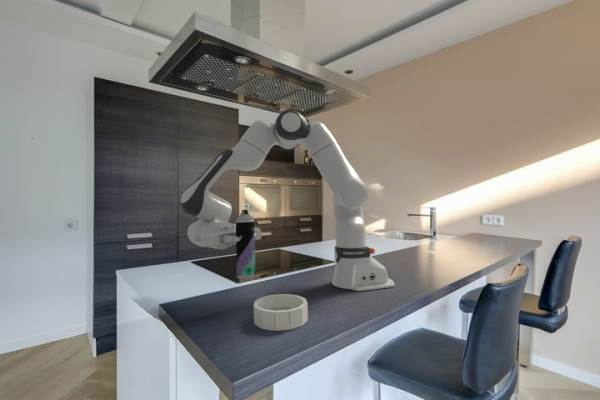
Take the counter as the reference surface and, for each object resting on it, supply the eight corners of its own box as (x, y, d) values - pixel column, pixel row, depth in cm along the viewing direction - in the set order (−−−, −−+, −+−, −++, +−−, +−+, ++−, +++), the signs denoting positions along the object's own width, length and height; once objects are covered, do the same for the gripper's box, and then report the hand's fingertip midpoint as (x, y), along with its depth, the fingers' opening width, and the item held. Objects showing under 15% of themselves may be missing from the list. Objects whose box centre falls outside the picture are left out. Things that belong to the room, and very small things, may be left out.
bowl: (303, 308, 87) (303, 292, 87) (310, 328, 73) (310, 309, 73) (255, 311, 85) (254, 295, 85) (253, 332, 71) (252, 313, 71)
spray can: (237, 279, 85) (236, 210, 85) (236, 275, 90) (234, 209, 90) (256, 278, 87) (255, 209, 87) (254, 273, 92) (252, 209, 92)
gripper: (190, 228, 89) (216, 230, 80) (244, 223, 105) (271, 224, 96) (191, 249, 89) (217, 253, 80) (245, 241, 105) (272, 244, 95)
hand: (247, 238), depth 88 cm, fingers closed on spray can, 5 cm apart
